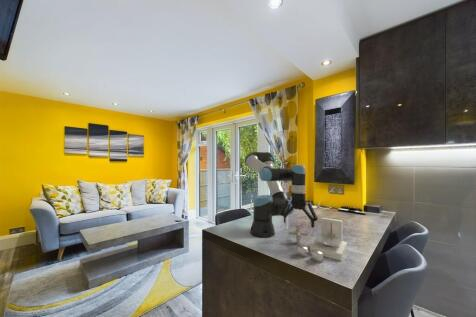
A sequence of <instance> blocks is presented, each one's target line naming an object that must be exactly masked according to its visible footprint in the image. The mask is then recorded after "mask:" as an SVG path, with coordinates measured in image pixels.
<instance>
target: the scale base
mask: <svg viewBox="0 0 476 317" xmlns="http://www.w3.org/2000/svg"><path fill="white" fill-rule="evenodd" d="M343 227H344V226H343V220H341V219H334V218H329V217H321V234H324V235H329V236H334V237H339V238H342V242H341V244H340V246H339V247H335V246H331V245H327V244H322V243H318V242H314V241H313V242H312V243H311V244H310V246H309V253H311V254H312V249H318V250H321V251H323V257H326V258H329V259H333V260H337V261H343V258H344V256H345V254H346V252H347V248H348V241H344V239H343V236H344V235H343V233H344V231H343Z"/></svg>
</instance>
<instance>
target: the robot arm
mask: <svg viewBox="0 0 476 317" xmlns="http://www.w3.org/2000/svg"><path fill="white" fill-rule="evenodd" d="M244 163H245V165H246V167H248V168H251V169H253V170H254V171H255V172H256V173H257V174H258V175H259V179H260V181H261V182H266V183H267V187H268V189H269V192H270V194H271V195H270V194H261V195H258V196H257V195H256V196H255V197H254V199H253V205H252V206H253V211H252V212H253V215H252V216H253V221H252V224H251V227H250V234H251V235H252V236H254V237H258V238H271V237H274V236H275V235H276V234H275V233H276V232H275V231H276V230H275V226H274V223H273V217H279V216H282V217H283V223H284V224H285V226H284V227H285V230H288V229H289V215H290V216H291V215H292V214H293V213H294V210H299V211H303V213H304V214H305V215H306V216H307V218H308V219H309V220H310V221H309V235H312V234H313V229H314V228H315V222H317V221H318V220H319V217H318V216H317V214H316V212H315V210H314V208H313V204H312V202H311V201H310V202H306V195H307V194H306V174H307V173H306V172H307V171H306V166H305V165H303V164H302V165H301V164H294V165H291V168H290V167H289V168H282V167H281V168H280V167H279V168H278V167H277V168H276V167H275V164H276V157H275V155H274V153H272V152H268V151H263V152H261V151H252V152H249V153H247V154H246V156H245V158H244ZM284 181H285V182H291V196H289V195H288V193H287V191H285V190H283V187H282V184H281V182H284ZM307 207H308V209H307Z"/></svg>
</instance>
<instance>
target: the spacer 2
mask: <svg viewBox="0 0 476 317" xmlns="http://www.w3.org/2000/svg"><path fill="white" fill-rule="evenodd" d="M311 261H312V262H315V263H317V264H321V263H324V256H323V251H321V250H318V249H312V253H311Z"/></svg>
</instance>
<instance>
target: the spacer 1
mask: <svg viewBox="0 0 476 317" xmlns="http://www.w3.org/2000/svg"><path fill="white" fill-rule="evenodd" d="M296 248H297V249H296V253H297V254H296V255H297V256H298V257H299V256H300V258H308V257H309V246H307V245H306V244H298V245H297V247H296Z"/></svg>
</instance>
